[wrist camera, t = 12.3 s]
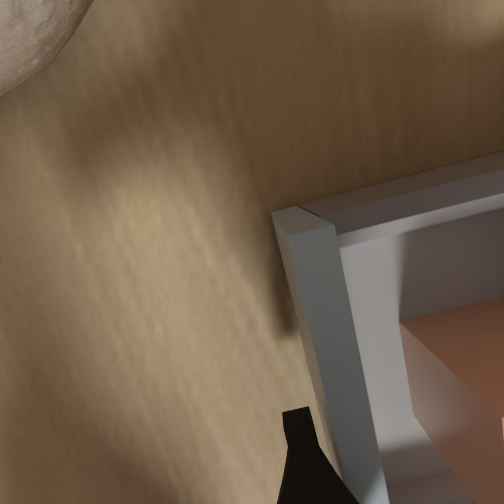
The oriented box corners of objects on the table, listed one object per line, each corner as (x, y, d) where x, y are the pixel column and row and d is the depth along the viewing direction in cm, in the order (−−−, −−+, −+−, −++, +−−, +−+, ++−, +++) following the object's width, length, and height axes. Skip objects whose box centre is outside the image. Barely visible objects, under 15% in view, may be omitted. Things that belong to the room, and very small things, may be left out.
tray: (342, 507, 15) (392, 681, 10) (270, 212, 11) (287, 236, 6) (586, 456, 14) (779, 612, 9) (584, 130, 11) (885, 83, 6)
